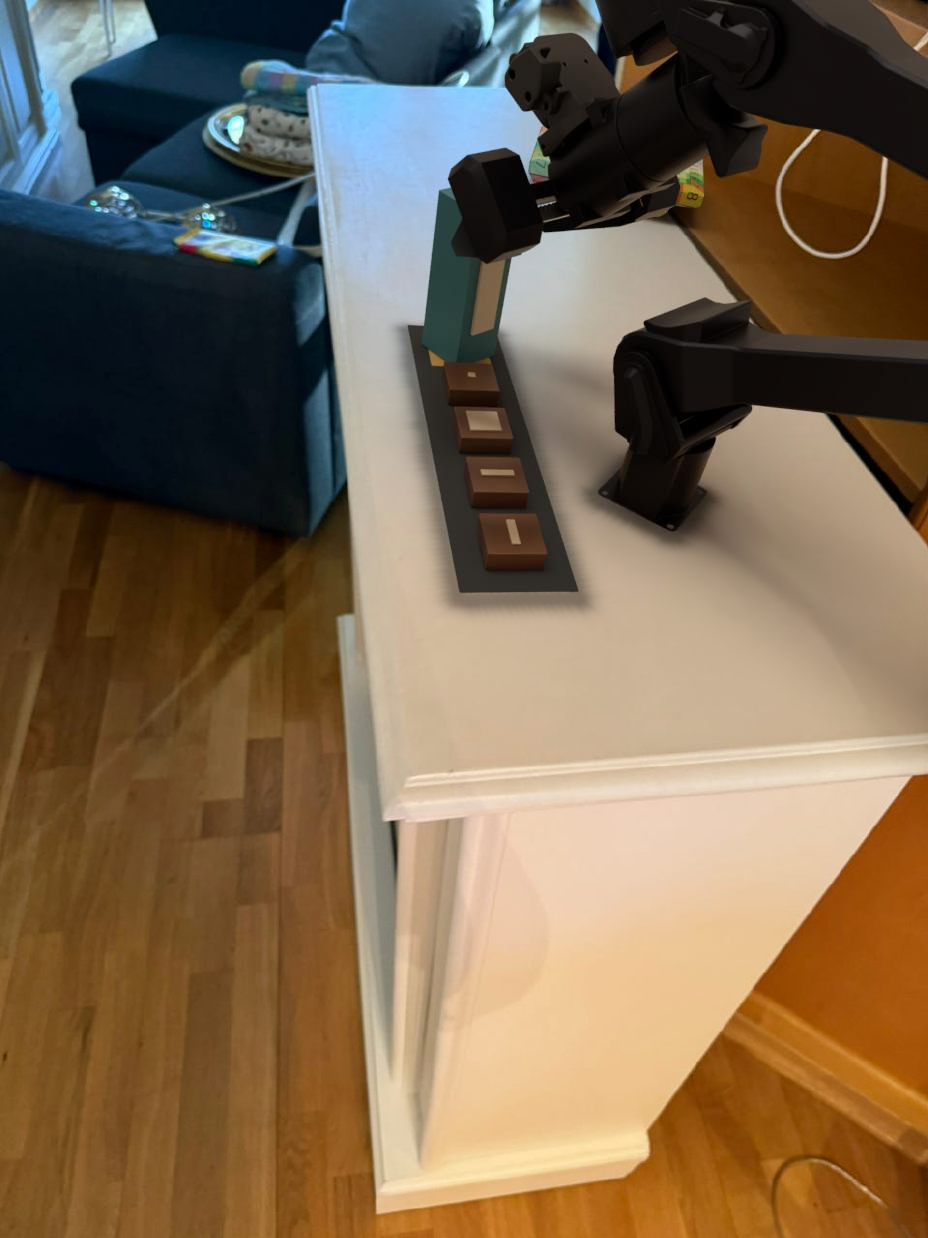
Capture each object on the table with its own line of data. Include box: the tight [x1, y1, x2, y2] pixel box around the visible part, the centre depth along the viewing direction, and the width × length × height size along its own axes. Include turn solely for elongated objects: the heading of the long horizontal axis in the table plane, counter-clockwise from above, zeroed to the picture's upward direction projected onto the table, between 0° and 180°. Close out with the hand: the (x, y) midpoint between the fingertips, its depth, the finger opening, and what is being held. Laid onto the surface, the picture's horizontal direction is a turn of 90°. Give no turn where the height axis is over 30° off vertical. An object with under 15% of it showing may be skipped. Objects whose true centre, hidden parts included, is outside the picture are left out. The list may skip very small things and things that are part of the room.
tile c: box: [452, 406, 513, 454], centre depth 69 cm, size 4×4×2 cm
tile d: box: [442, 362, 500, 407], centre depth 73 cm, size 4×4×2 cm
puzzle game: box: [527, 125, 705, 218], centre depth 106 cm, size 12×5×20 cm
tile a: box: [476, 513, 548, 570], centre depth 60 cm, size 4×4×2 cm
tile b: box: [463, 457, 529, 508], centre depth 64 cm, size 4×4×2 cm
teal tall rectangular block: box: [422, 187, 513, 363], centre depth 73 cm, size 5×4×13 cm
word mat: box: [407, 324, 579, 594], centre depth 69 cm, size 33×8×1 cm, turn 8°
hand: (499, 236), depth 68 cm, fingers open, 9 cm apart
